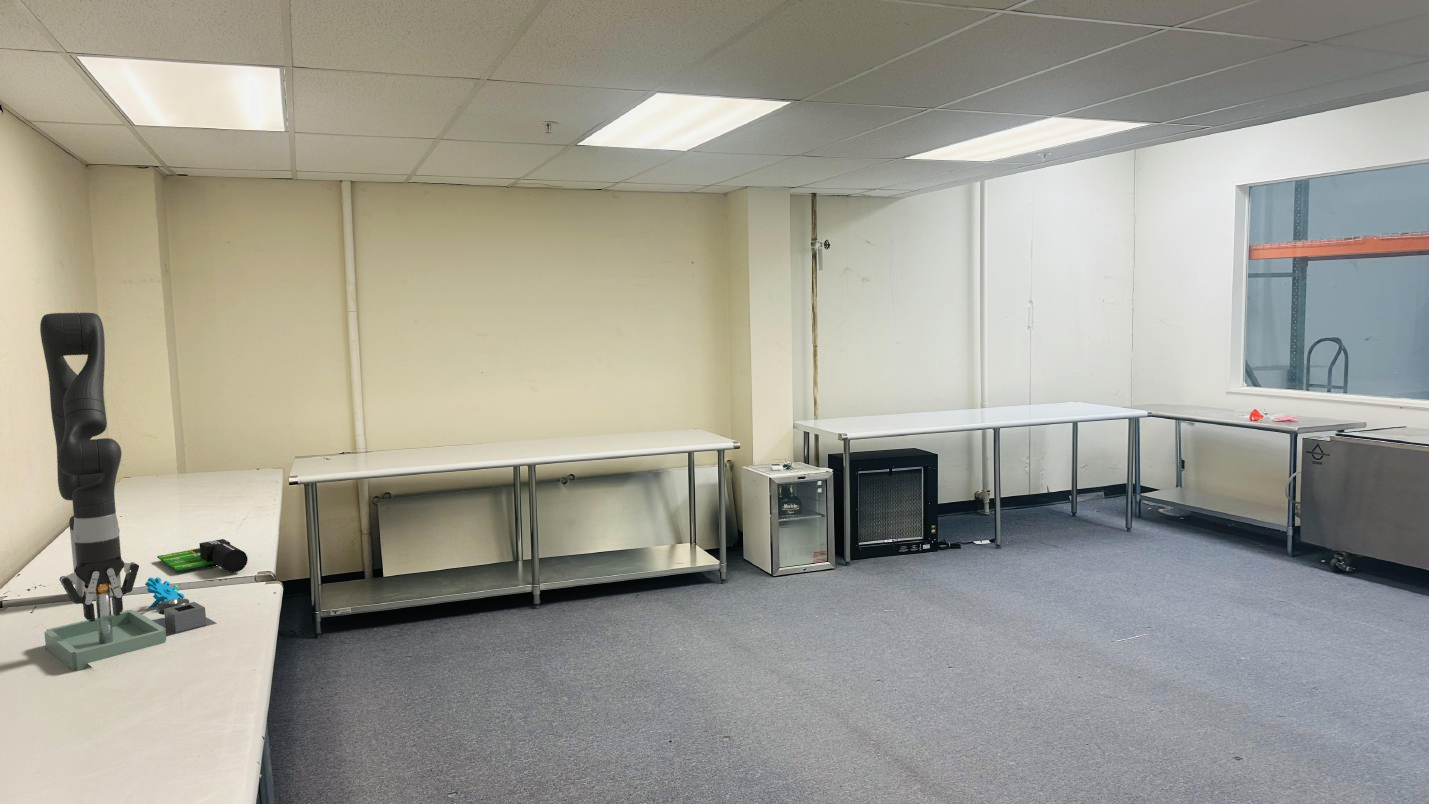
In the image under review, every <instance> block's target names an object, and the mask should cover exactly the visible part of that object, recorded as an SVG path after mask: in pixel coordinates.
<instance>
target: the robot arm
mask: <svg viewBox="0 0 1429 804" xmlns="http://www.w3.org/2000/svg"><path fill="white" fill-rule="evenodd" d="M102 321H103V320H102V319H101V317H100V315H98V314H97V313H95V312H55V313H54V312H52V313H46V314H44V315H43V316H42V318H41V319H40V324H39V325H40V326H39V327H40V330H39V331H40V340H41V345H42V349H43V354H44V360H45V364H46V370H47V375H48V384H49V398H50V399H49V400H50V411H51V412H50V413H51V419H52V426H53V427H52V428H53V431H54V437H55V438H54V439H55V445H56V463H57V466H56V468H57V485H58V491H59V494H60V496H61V497H62V499H63V500H65V501H72V509H73V511H72V512H73V515H72V516H71V517H70V518H69V523H68V525H69V535H70V545H71V554H72V555H71V556H72V567H73V568H72V569H73V572H72V573H70V574H67V575H62V576H60V577H59V579H58V580H59V582H60V583H61V585H62V588H63V589H64V590H65V592H66V594H67V596H68V597H69V600H70V601H71V602H73V603H74V604H76V605H79V604H80V605H81V604H82V607H83V608H82V609H83V617H84V618H85V620H89V621H90V622H93V621H95V618H96V615H95V604H94V603H93V601H96V594H95V590H96V587H98V586H99V585H100V584H105V583H108V584H109V585H110V598H111V607H112V608H111V609H112V614H114V615H115V616H118V615H120V612H124V604H123V596H124V595H126V594H128V593H132V591H133V588H134V585H135V583H136V582H135V581H136V579H137V577H138V576H137V575H138V573H139V569H140V566H139V565H140V564H137V563H135V562H132V561H130V562H124V560H123V558H122V556H121V555H122V553H121V552H122V551H121V550H122V549H121V541H120V528H119V520H118V517H117V513H116V512H117V509H116V497H115V489H116V487H115V486H116V479H117V474H118V470H119V467H120V464H121V460H122V448H121V446H120V444H119V443H118V442H117V441H116V440H115V439H113V438H111V437H109V438H103V437H102V438H94V437H98V436H100V435H102V434H103V433H104V432H106V429H107V426H108V422H107V415H106V413H107V412H106V406H105V405H106V404H105V396H104V393H105V391H104V389H105V388H104V383H105V370H106V369H105V367H106V366H105V365H106V362H105V361H106V353H105V352H106V351H105V350H106V344H105V343H106V342H105V339H106V338H105V332H104V331H105V330H104V324H103V322H102ZM83 355H84V356H87V359H86V362H85V363H84V365H83V367H82V369H81V370H80V372H79V373H76V372H75V371H74V370H73V368H71V366H70V365H69V364H68V362H67V360H66V358H65V357H66V356H67V357H68V356H83ZM92 438H93V439H92ZM123 569H124V573H125V576H124V579H123V583H122V581H121V579H122V578H121V572H122V570H123Z"/></svg>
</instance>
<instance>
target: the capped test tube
mask: <svg viewBox="0 0 1429 804" xmlns="http://www.w3.org/2000/svg"><path fill="white" fill-rule="evenodd" d="M95 594H96V600H95V604H96V618H97V621H98V635H99V644H107V643H110V642H112V641H113V632H112V618H111V614H112V608H111V607H112V603H111V597H110V585H109V584H108V583H105V584H100V585H99V586H98V587H96V590H95Z"/></svg>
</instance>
